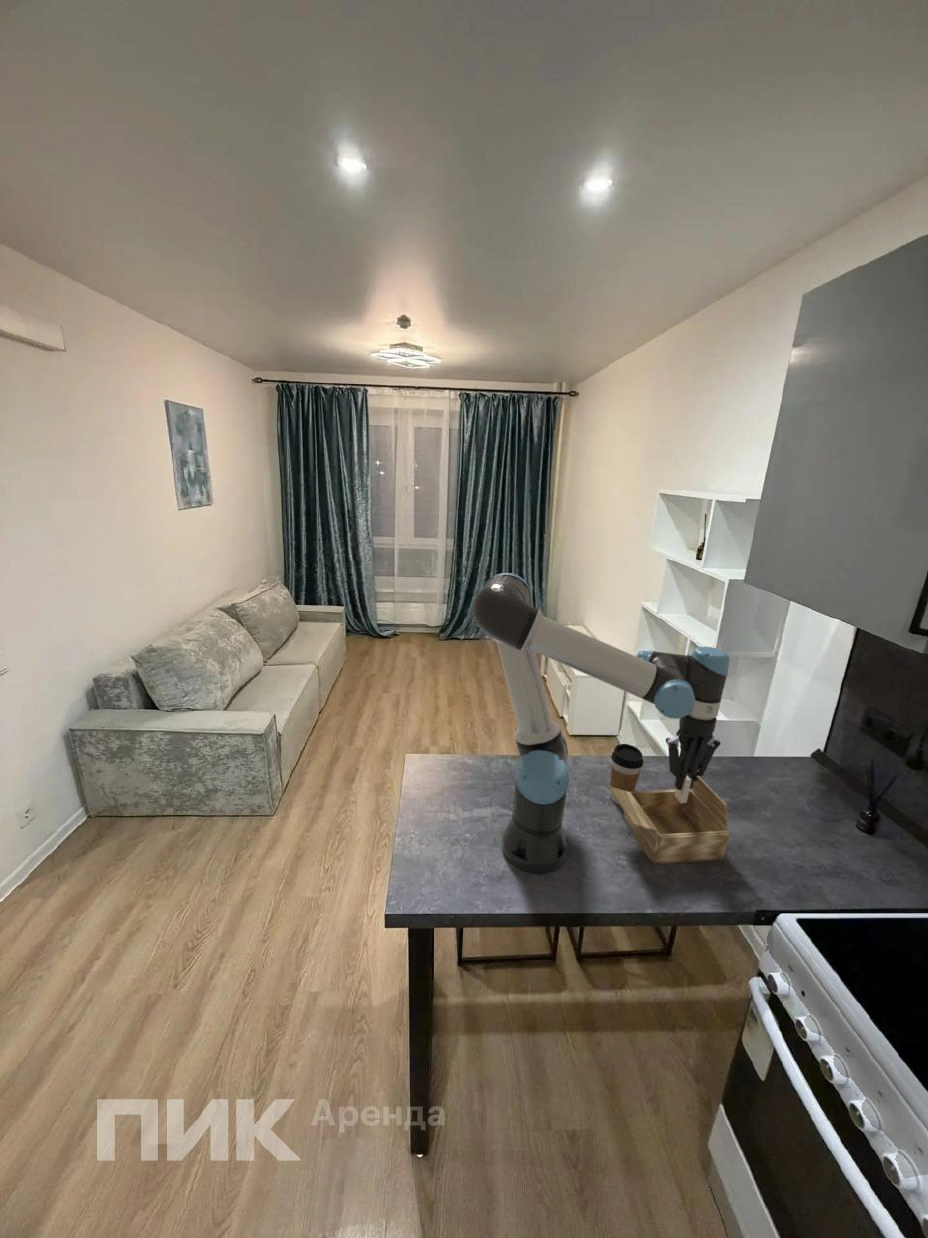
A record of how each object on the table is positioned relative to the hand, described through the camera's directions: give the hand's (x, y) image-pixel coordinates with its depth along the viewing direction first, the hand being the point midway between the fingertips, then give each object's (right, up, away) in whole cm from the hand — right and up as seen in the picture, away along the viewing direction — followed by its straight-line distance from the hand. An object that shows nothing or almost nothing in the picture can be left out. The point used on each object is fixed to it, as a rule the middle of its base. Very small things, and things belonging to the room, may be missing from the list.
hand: (680, 799), depth 122 cm
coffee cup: (-9, -6, +18) cm, 21 cm away
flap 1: (-9, -3, 0) cm, 10 cm away
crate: (-1, -11, +3) cm, 12 cm away
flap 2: (+8, -3, +2) cm, 9 cm away
